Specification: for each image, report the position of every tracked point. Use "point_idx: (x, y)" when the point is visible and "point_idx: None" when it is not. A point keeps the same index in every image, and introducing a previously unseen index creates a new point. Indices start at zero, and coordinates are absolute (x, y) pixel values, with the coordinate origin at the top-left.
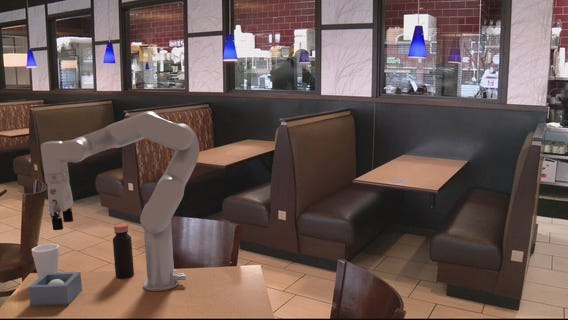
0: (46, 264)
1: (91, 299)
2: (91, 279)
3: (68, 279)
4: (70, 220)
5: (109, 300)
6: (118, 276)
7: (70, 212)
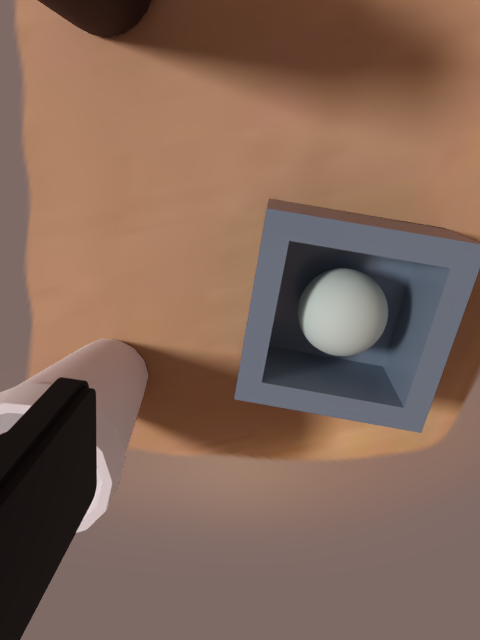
0: (127, 415)
1: (404, 125)
2: (127, 178)
3: (381, 255)
4: (89, 418)
5: (456, 14)
6: (144, 6)
7: (1, 517)
